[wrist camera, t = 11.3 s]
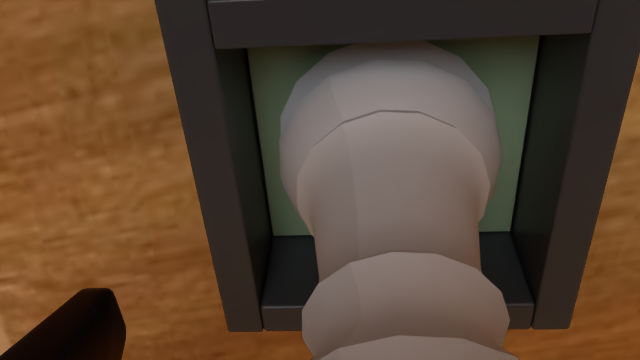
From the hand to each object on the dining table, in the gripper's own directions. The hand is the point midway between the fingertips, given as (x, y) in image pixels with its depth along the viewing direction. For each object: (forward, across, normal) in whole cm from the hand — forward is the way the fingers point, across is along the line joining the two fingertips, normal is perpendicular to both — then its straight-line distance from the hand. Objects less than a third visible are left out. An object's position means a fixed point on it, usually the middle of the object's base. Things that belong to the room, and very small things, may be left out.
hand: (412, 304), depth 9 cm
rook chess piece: (+5, 0, 0) cm, 5 cm away
